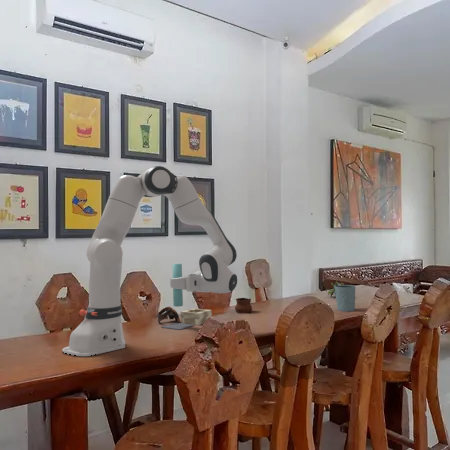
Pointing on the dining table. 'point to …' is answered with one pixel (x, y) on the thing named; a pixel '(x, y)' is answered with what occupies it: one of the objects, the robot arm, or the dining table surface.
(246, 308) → the ceramic pot
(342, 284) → the passion flower
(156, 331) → the dining table surface
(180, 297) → the peg
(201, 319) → the socket block
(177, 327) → the mat
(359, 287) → the dining table surface
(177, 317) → the brown hollow arch
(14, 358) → the dining table surface
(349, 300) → the blue-grey planter
